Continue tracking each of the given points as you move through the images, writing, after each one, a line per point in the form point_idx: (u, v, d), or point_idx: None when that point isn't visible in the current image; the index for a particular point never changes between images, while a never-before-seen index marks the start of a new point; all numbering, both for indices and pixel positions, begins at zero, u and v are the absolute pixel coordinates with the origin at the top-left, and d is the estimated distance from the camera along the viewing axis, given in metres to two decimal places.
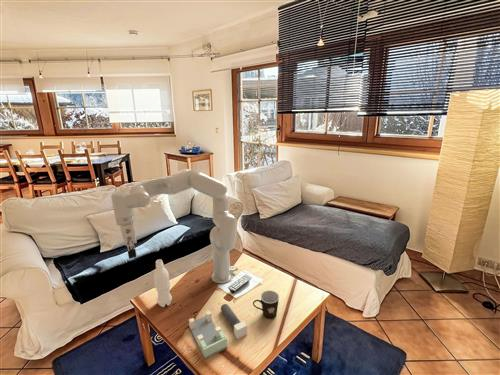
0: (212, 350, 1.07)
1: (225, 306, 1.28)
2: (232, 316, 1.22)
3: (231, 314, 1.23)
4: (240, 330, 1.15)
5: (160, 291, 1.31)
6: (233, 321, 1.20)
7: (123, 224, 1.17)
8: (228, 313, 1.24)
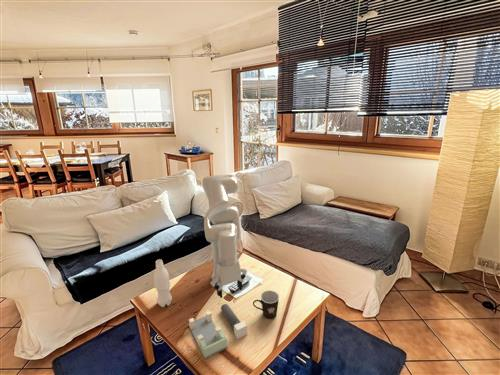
0: (212, 350, 1.07)
1: (225, 306, 1.28)
2: (232, 316, 1.22)
3: (231, 314, 1.23)
4: (241, 330, 1.15)
5: (160, 291, 1.31)
6: (233, 321, 1.20)
7: (237, 259, 1.15)
8: (228, 313, 1.24)
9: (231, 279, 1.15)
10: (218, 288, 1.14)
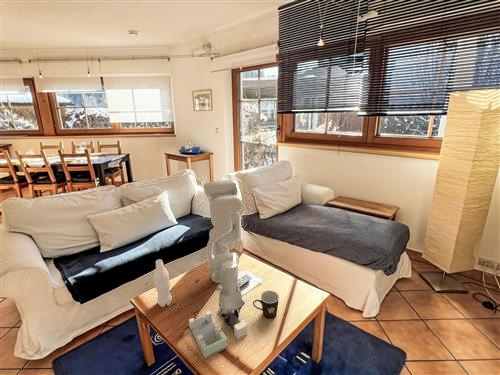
0: (212, 350, 1.07)
1: None
2: (232, 316, 1.22)
3: (231, 314, 1.23)
4: (241, 330, 1.15)
5: (160, 291, 1.31)
6: (233, 321, 1.20)
7: (238, 288, 1.20)
8: None
9: (233, 307, 1.20)
10: (225, 316, 1.20)
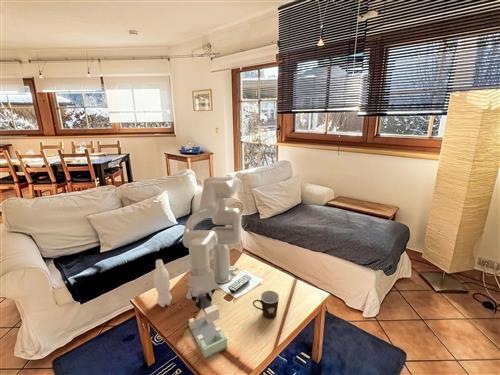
0: (212, 350, 1.07)
1: None
2: (204, 300, 1.11)
3: (203, 298, 1.13)
4: (211, 314, 1.04)
5: (160, 291, 1.31)
6: (204, 305, 1.09)
7: (210, 268, 1.09)
8: (200, 297, 1.13)
9: (204, 289, 1.09)
10: (196, 299, 1.10)
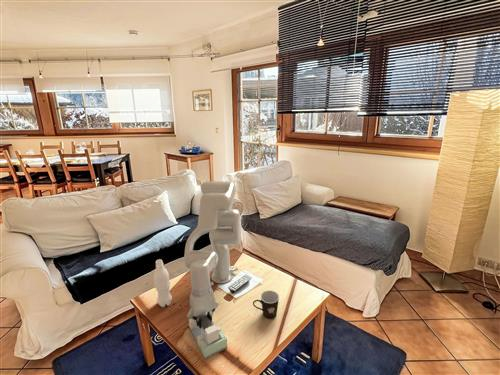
0: (212, 350, 1.07)
1: None
2: (205, 319, 1.14)
3: (204, 317, 1.15)
4: (212, 334, 1.07)
5: (160, 291, 1.31)
6: (205, 324, 1.12)
7: (210, 288, 1.12)
8: (201, 316, 1.16)
9: (205, 309, 1.12)
10: (197, 319, 1.12)
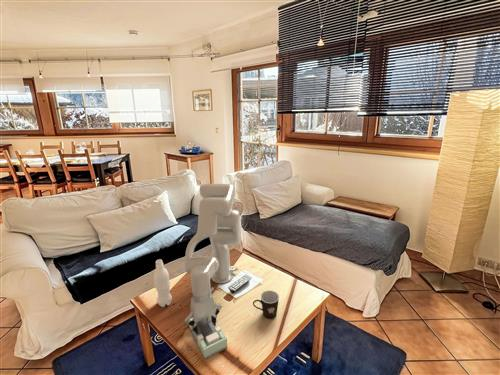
0: (212, 350, 1.07)
1: None
2: (205, 327, 1.15)
3: (204, 324, 1.17)
4: (212, 342, 1.08)
5: (160, 291, 1.31)
6: (206, 332, 1.13)
7: (211, 294, 1.13)
8: (201, 323, 1.18)
9: (205, 314, 1.13)
10: (193, 324, 1.12)
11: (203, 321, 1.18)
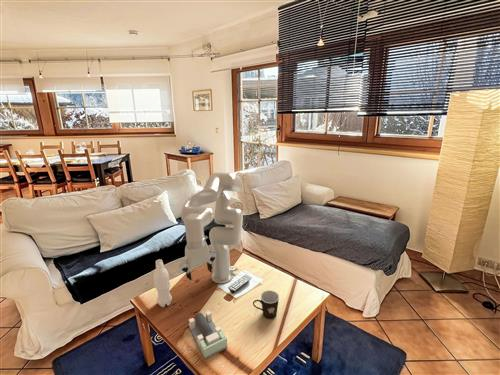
0: (212, 350, 1.07)
1: (199, 315, 1.22)
2: (205, 327, 1.15)
3: (204, 324, 1.17)
4: (212, 342, 1.08)
5: (160, 291, 1.31)
6: (206, 332, 1.13)
7: (204, 242, 1.16)
8: (201, 323, 1.18)
9: (200, 261, 1.16)
10: (186, 271, 1.15)
11: (203, 321, 1.18)
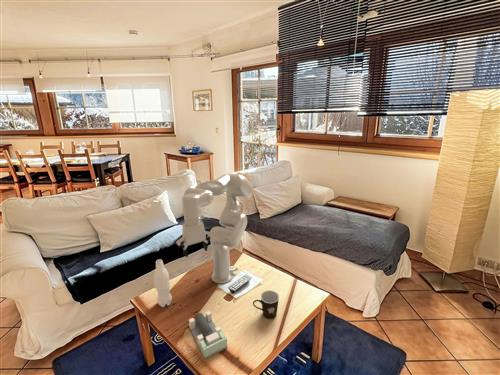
0: (212, 350, 1.07)
1: (199, 315, 1.22)
2: (205, 327, 1.15)
3: (204, 324, 1.17)
4: (212, 342, 1.08)
5: (160, 291, 1.31)
6: (206, 332, 1.13)
7: (201, 221, 1.25)
8: (201, 323, 1.18)
9: (196, 239, 1.25)
10: (183, 247, 1.24)
11: (203, 321, 1.18)
